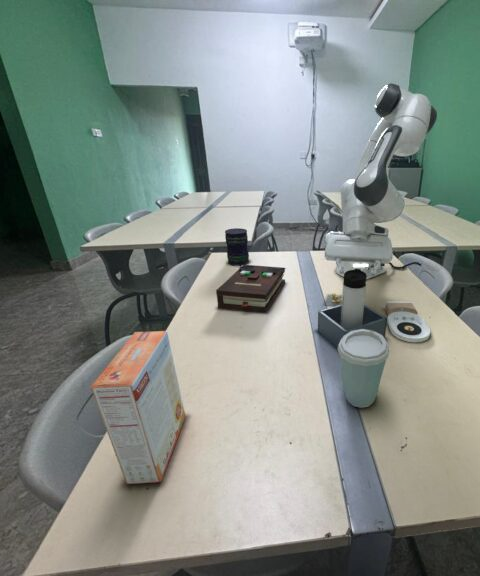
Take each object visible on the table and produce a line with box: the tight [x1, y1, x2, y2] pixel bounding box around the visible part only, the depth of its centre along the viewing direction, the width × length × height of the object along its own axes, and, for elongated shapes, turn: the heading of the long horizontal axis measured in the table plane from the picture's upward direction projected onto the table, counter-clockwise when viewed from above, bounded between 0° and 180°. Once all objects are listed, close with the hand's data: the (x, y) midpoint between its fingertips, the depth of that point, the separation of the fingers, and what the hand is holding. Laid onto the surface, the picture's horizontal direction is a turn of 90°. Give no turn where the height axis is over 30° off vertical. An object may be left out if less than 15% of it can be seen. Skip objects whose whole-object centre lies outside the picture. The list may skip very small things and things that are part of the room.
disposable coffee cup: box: [336, 329, 390, 409], centre depth 68 cm, size 11×11×15 cm
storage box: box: [317, 304, 388, 350], centre depth 92 cm, size 15×14×7 cm
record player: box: [384, 301, 431, 343], centre depth 100 cm, size 12×3×20 cm
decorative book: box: [215, 264, 286, 314], centre depth 116 cm, size 19×8×30 cm
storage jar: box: [224, 227, 250, 267], centre depth 146 cm, size 10×10×15 cm
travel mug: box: [341, 269, 367, 330], centre depth 90 cm, size 6×7×20 cm
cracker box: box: [90, 330, 187, 485], centre depth 53 cm, size 14×6×21 cm, turn 5°
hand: (357, 274), depth 93 cm, fingers open, 8 cm apart
